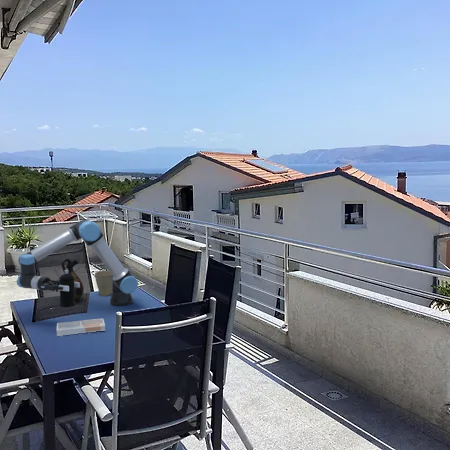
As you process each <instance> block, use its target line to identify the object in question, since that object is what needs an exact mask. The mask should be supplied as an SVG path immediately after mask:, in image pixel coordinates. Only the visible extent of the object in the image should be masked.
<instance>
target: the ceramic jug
mask: <svg viewBox="0 0 450 450" xmlns="http://www.w3.org/2000/svg"><path fill="white" fill-rule="evenodd" d="M60 262H61V268H62V269H61V270H62V271H63V275H64V274H65V270H68V274H71V275H73V276H74V277H75V278H74V282H79V283H80V287H79V288H78V287H74V292H75V304H77V303H79V302H80V300H81V298H82V296H83V294H84V292H85V291H84V289H85V288H84V285H83V282H82V280H81V278H80V276H78V274H76V272H75V271H74V267H75V266H77V265H78V264H79V261H77V260H76V259H70V258H67V257H66V258H62V260H61V261H60ZM65 263H67V264H66V266H65Z"/></svg>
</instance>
